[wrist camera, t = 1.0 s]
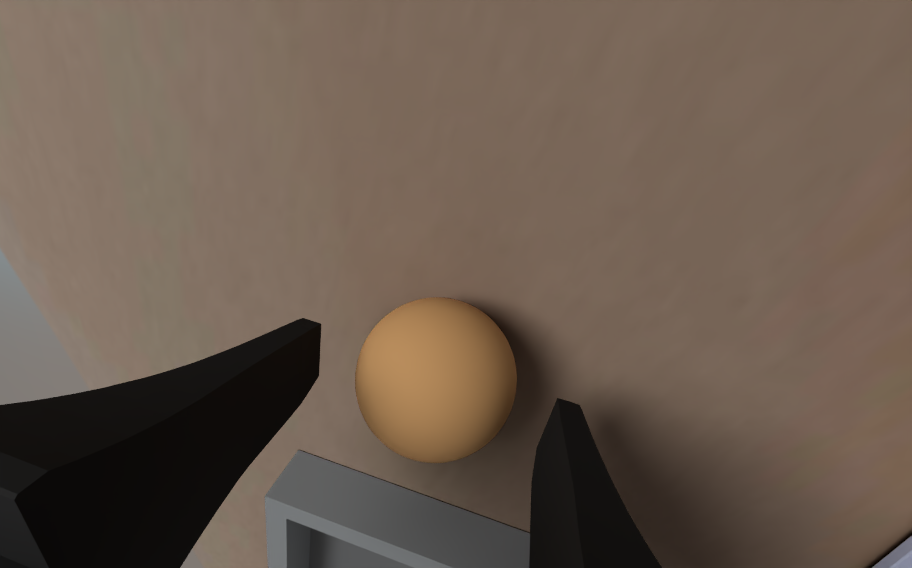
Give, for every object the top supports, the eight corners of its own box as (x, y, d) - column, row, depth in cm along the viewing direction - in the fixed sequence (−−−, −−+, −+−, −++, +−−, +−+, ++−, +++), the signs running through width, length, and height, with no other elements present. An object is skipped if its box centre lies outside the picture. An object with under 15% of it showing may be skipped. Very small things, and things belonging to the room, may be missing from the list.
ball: (541, 295, 13) (529, 396, 9) (504, 405, 16) (480, 525, 11) (400, 255, 14) (327, 331, 10) (384, 365, 16) (319, 466, 12)
